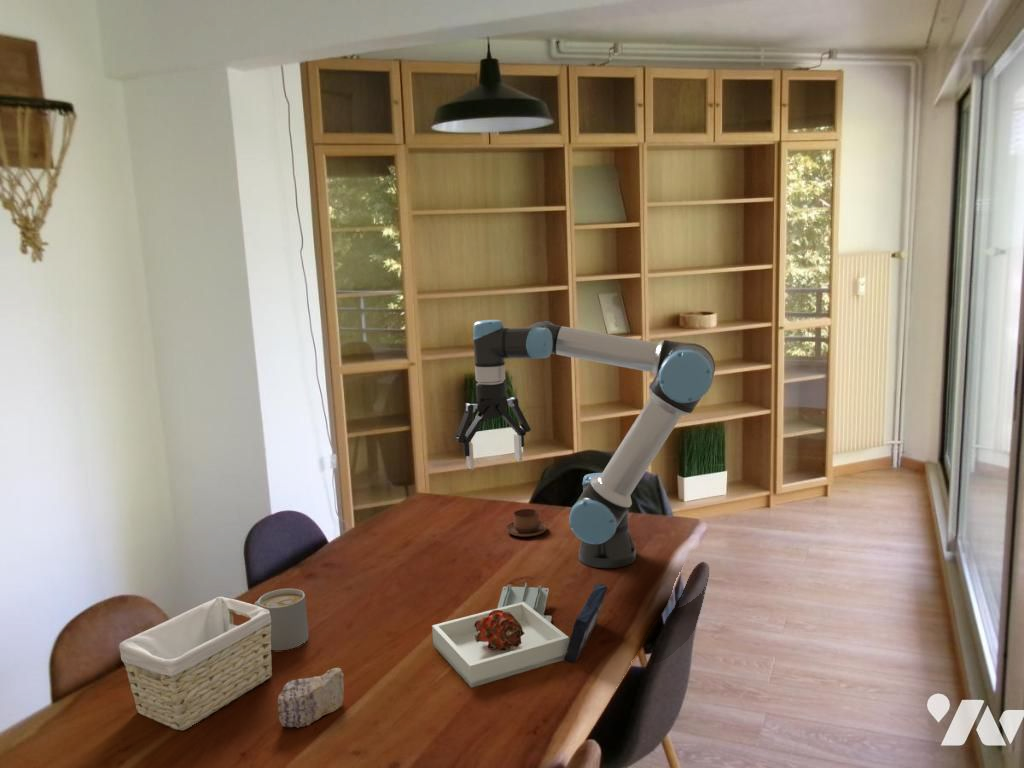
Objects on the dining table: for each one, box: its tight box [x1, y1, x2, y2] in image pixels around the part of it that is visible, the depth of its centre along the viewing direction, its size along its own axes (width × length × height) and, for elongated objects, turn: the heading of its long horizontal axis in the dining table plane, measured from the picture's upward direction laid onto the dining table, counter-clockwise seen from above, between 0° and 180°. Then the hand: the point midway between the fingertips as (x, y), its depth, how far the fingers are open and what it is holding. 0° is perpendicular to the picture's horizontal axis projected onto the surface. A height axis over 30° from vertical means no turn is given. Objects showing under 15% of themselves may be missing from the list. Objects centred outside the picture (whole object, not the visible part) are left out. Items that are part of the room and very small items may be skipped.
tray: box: [431, 602, 570, 688], centre depth 172 cm, size 22×20×4 cm
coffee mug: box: [253, 588, 310, 650], centre depth 182 cm, size 13×10×10 cm
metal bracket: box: [496, 582, 553, 624], centre depth 190 cm, size 14×6×15 cm
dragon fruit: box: [472, 609, 525, 651], centre depth 172 cm, size 8×8×12 cm
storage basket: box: [118, 596, 273, 731], centre depth 159 cm, size 24×16×15 cm
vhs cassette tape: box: [563, 582, 608, 664], centre depth 174 cm, size 18×3×10 cm, turn 159°
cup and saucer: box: [505, 508, 548, 538], centre depth 242 cm, size 12×12×6 cm
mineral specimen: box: [277, 667, 345, 729], centre depth 152 cm, size 14×8×7 cm, turn 139°
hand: (494, 464), depth 210 cm, fingers open, 13 cm apart
